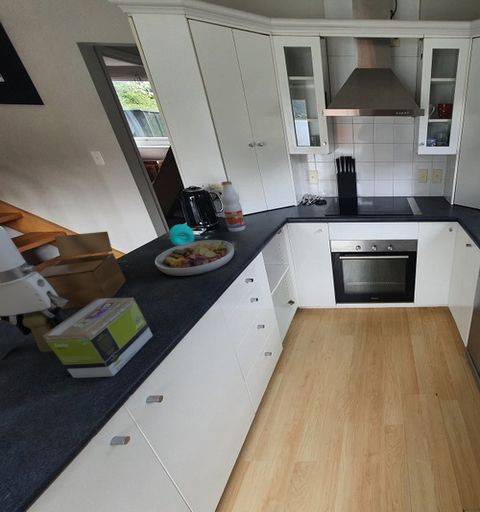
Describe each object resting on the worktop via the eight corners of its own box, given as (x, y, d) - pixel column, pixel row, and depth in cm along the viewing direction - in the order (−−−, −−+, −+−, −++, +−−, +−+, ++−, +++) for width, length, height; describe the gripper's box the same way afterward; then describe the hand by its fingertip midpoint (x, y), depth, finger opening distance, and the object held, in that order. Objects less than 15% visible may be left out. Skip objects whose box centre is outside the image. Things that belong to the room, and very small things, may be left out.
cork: (33, 349, 77) (11, 319, 72) (61, 335, 82) (41, 305, 77) (49, 354, 76) (26, 323, 71) (75, 339, 81) (56, 309, 76)
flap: (54, 236, 98) (55, 236, 98) (60, 257, 99) (61, 257, 99) (106, 231, 103) (107, 231, 104) (111, 251, 104) (112, 251, 105)
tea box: (119, 337, 82) (97, 296, 75) (154, 336, 83) (135, 296, 76) (71, 379, 69) (39, 334, 62) (113, 377, 69) (87, 333, 63)
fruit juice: (245, 225, 169) (235, 180, 157) (246, 230, 162) (235, 183, 149) (228, 227, 166) (217, 181, 153) (228, 233, 158) (216, 184, 146)
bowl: (155, 260, 126) (149, 244, 123) (226, 243, 144) (222, 230, 141) (163, 287, 106) (156, 270, 103) (244, 264, 124) (240, 249, 121)
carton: (52, 311, 92) (31, 278, 86) (77, 287, 105) (60, 257, 99) (109, 302, 97) (92, 269, 91) (125, 280, 110) (112, 251, 104)
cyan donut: (173, 249, 136) (167, 231, 132) (173, 243, 144) (166, 225, 139) (197, 245, 142) (191, 227, 137) (195, 239, 149) (190, 221, 145)
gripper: (61, 261, 75) (91, 314, 83) (-31, 272, 68) (11, 328, 76) (43, 274, 68) (78, 330, 76) (-59, 287, 62) (-10, 347, 70)
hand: (44, 328), depth 76 cm, fingers closed on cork, 5 cm apart
